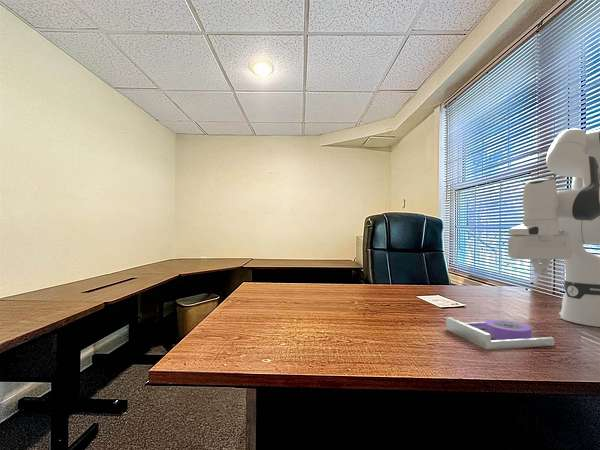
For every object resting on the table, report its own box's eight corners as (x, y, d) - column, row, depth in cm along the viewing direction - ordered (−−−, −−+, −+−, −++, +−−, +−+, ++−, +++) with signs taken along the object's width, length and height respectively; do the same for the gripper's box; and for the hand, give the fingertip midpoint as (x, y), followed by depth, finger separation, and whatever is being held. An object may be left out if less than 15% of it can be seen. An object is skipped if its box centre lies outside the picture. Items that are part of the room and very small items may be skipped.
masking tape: (476, 332, 97) (476, 320, 97) (504, 329, 100) (504, 318, 101) (511, 346, 86) (510, 332, 86) (541, 342, 89) (541, 329, 89)
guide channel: (504, 326, 103) (504, 315, 103) (554, 345, 86) (554, 331, 86) (446, 329, 99) (446, 317, 99) (486, 349, 82) (486, 334, 83)
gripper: (558, 230, 101) (558, 271, 100) (504, 229, 97) (504, 272, 97) (578, 229, 94) (579, 274, 94) (521, 229, 91) (521, 275, 91)
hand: (540, 273), depth 96 cm, fingers closed
